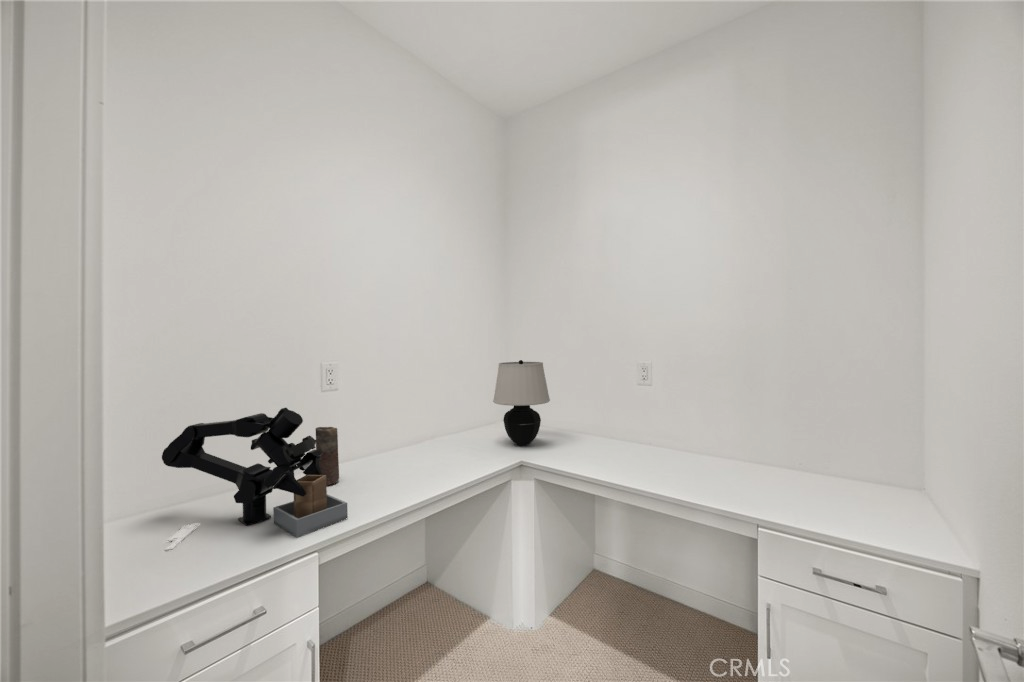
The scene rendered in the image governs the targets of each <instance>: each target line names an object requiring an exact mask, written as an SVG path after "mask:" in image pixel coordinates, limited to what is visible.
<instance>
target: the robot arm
mask: <svg viewBox="0 0 1024 682" xmlns="http://www.w3.org/2000/svg"><path fill="white" fill-rule="evenodd" d="M303 422H304V419H303V417H302V416H301V415H300V414H299V413H297V412H296V411H294V410H290V409H288V408H287V407H282V408H281V409H280V410H279V411H278V413H277V414H276V415H275V416H273V417H270V416H268V415H267V414H266V413H262V412H260V413H256V414H252V415H248V416H244V417H241V418H239V419H235V420H223V421H216V422H215V421H214V422H206V423H205V422H204V423H203V422H200V423H195V424H190V425H188V426H186V427H185V428H184V429H183V431H182V432H181V433H180V434H179V435H178V436H177V437H176V438H174V439H173V440H172V441H170V443H169V444H168V446H167V447H165V448H164V450H163V452H162V454H161V461H162V462H163V464H164V465H165V466H166V467H171V468H177V469H184V468H185V469H188V468H190V469H191V468H192V469H195V470H197V471H199V472H200V471H201V472H203V473H206V474H208V475H210V476H214V477H217V478H219V479H221V480H225V481H227V482H230V483H233V484H235V485H236V487H237V489H238V490H237V492H236V493H235V494H234V495H233V498H234V501H235V503H236V504H242V516H240V517H239V518H237V519H238V520H237V521H239V522H241V523H242V524H243V525H244V526H250V525H253V524H256V523H260V522H262V521H265V520H268V519H271V518H272V515H271V514H269V513H267V495H269V494H271V493H273V490H275V489H277V490H281V491H285V492H288V493H291V494H293V495H294V494H297V495H300V496H305V495H306V492H305V490H304V489H303V488H302V486H301V485H300V484H299V483H298V481H297V480H298V479H296V477H295V471H296V470H298V469H299V470H300V471H303V472H302V474H303V475H304V476H305V475H322V472H321V470H320V467H319V460H320V459H321V455H322V454H321V452H320V451H319V450H316V438H314V437H312V435H307V436H305V437H303V438H302V439H301V442H298V443H297V444H295V443H293V442H290V443H288V442H287V441H286V439H288V438H290V437H291V436H292V435H293V434H294V432H295V431H296V430H297V429H298V428H299V427H300V426H301V425H302V424H303ZM229 435H230V436H235V437H239V438H250V437H254V436H257V435H259V436H258V437H257V438H254V439H252V440H251V445H250V450H251V451H254V450H256V449H260V450H261V451H263V453H264V454H265V455H266V456H267V457H268V458H269V459H268V460H267V463H268V464H270V465H271V464H273V463H274V465H275V467H273V468H272V469H271V466H264V465H263V464H261V463H255V464H253V465H251V466H247V467H246V466H243V465H240V464H238V463H235V462H233V461H230V460H226V459H223V458H221V457H219V456H216V455H212V454H211V453H207V452H206V451H205V449H204V448H203V446H204V445H205V439H206V438H209V437H210V438H211V437H219V436H229Z"/></svg>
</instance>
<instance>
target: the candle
mask: <svg viewBox="0 0 1024 682" xmlns="http://www.w3.org/2000/svg"><path fill="white" fill-rule="evenodd" d="M338 438H339V435H338V428H337V427H334V426H318V427H315V440H316V444H315V447H316V448H315V450H319V451H320V452H321V454H322V455H321V459H320V460H319V467H320V470H321V472H322V475H326V486H330V485H332V484H336V483H337V482H338V481H339V480H340V467H339V463H340V462H339V439H338Z"/></svg>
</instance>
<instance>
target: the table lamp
mask: <svg viewBox="0 0 1024 682" xmlns="http://www.w3.org/2000/svg"><path fill="white" fill-rule="evenodd" d="M544 368H545V367H544V362H543V361H523V360H521V359H520V360H518V361H507V362H499V363H498V367H497V377H496V383H495V389H494V396H493V399H492V402H493V403H494V404H496V405H501V406H510V407H511V406H512V407H513V408H510V409H509V410H507V412H505V413H504V416H503V419H502V421H503V425H504V426H503V427H504V428H505V429H504V430H505V431H506V434H507V436H508V437H509V439H510V440H511V441H512V442H513V443H514V444H516V445H517V446H527V445H529V444H531V443H532V442H533V441H534V440H535V439H536V437H537V436H538V434H539V431H540V427H541V423H542V419H541V415H540V414H539V412H538V411H536V410H534V408H532V407H531V406H538V405H543V404H544V405H545V404H547V403H549V402H550V401H551V398H550V395H549V390H548V384H547V380H546V375H545V369H544Z"/></svg>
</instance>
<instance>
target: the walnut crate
mask: <svg viewBox="0 0 1024 682" xmlns="http://www.w3.org/2000/svg"><path fill="white" fill-rule="evenodd" d="M296 480H297V481H298V483H299V484H300V485H301V486H302V488H303V489H304V490H305V492H306V495H305V496H300V495H297V494H294V493H293V501H294V517H296V518H298V519H299V518H302V517H304V516H307V515H310V514H313V513H316V512H319V511H322V510H325V509H327V494H328V493H327V491H328V490H327V486H326V475H305V474H304V475H303V476H302V477H300V478H298V479H296Z"/></svg>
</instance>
